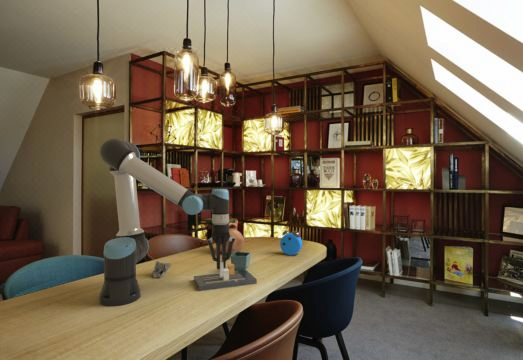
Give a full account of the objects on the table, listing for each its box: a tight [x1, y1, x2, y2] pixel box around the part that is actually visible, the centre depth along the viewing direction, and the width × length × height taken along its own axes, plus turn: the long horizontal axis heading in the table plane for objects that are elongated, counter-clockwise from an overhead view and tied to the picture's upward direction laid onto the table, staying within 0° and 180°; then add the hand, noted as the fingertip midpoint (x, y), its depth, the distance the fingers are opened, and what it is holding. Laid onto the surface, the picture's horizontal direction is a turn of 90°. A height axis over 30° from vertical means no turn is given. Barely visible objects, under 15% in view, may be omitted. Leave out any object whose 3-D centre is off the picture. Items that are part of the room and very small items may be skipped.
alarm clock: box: [279, 230, 303, 256], centre depth 200 cm, size 13×6×15 cm, turn 66°
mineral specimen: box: [151, 261, 172, 279], centre depth 158 cm, size 10×8×10 cm
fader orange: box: [226, 263, 235, 275], centre depth 153 cm, size 3×3×4 cm
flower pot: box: [230, 251, 252, 271], centre depth 165 cm, size 9×9×9 cm
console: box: [193, 269, 258, 292], centre depth 148 cm, size 26×15×3 cm, turn 111°
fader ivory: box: [222, 268, 229, 280], centre depth 145 cm, size 3×3×4 cm
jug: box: [220, 220, 245, 255], centre depth 206 cm, size 18×18×20 cm
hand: (221, 275), depth 144 cm, fingers closed
